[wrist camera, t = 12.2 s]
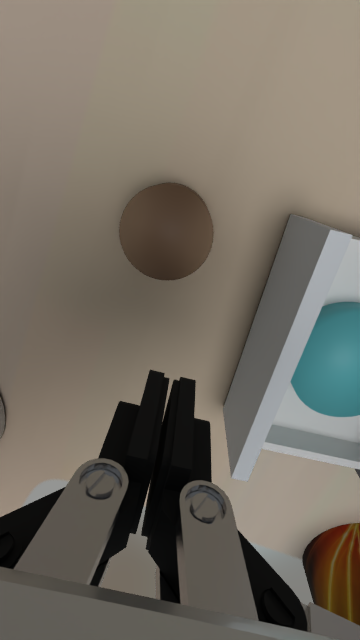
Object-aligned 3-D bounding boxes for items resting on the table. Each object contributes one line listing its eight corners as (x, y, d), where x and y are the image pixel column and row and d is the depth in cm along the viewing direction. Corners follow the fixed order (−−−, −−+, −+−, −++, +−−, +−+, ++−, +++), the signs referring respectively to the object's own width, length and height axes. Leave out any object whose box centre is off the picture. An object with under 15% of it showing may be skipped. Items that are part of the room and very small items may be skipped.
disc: (269, 387, 23) (275, 405, 21) (303, 291, 20) (315, 302, 19) (368, 406, 23) (382, 426, 21) (414, 314, 21) (436, 327, 19)
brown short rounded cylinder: (124, 255, 22) (112, 268, 19) (138, 173, 20) (128, 173, 17) (199, 273, 22) (200, 289, 19) (219, 194, 20) (224, 197, 17)
